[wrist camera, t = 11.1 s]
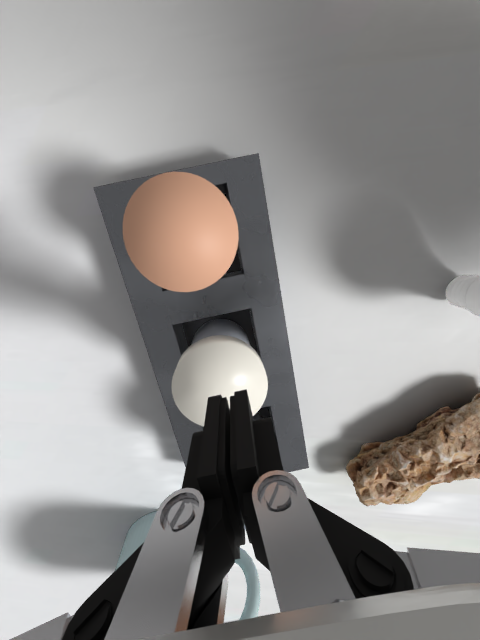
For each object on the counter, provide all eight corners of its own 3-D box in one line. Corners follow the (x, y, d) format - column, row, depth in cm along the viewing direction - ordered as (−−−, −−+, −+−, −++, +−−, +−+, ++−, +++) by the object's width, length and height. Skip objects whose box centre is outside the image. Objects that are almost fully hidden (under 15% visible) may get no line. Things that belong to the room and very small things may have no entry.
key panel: (252, 168, 18) (258, 153, 15) (298, 442, 25) (308, 467, 22) (114, 197, 18) (93, 187, 15) (197, 464, 25) (194, 493, 22)
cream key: (247, 307, 19) (258, 333, 13) (259, 368, 20) (274, 417, 15) (179, 321, 19) (159, 354, 13) (196, 382, 20) (185, 437, 14)
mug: (145, 582, 28) (106, 753, 19) (110, 524, 26) (45, 687, 16) (263, 548, 28) (285, 702, 19) (240, 486, 26) (251, 628, 16)
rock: (390, 542, 25) (356, 506, 21) (361, 489, 30) (328, 449, 25) (559, 466, 23) (563, 405, 18) (500, 420, 27) (491, 362, 23)
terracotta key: (224, 191, 17) (225, 160, 11) (239, 269, 18) (248, 279, 12) (147, 207, 17) (105, 185, 11) (168, 284, 18) (142, 302, 12)
